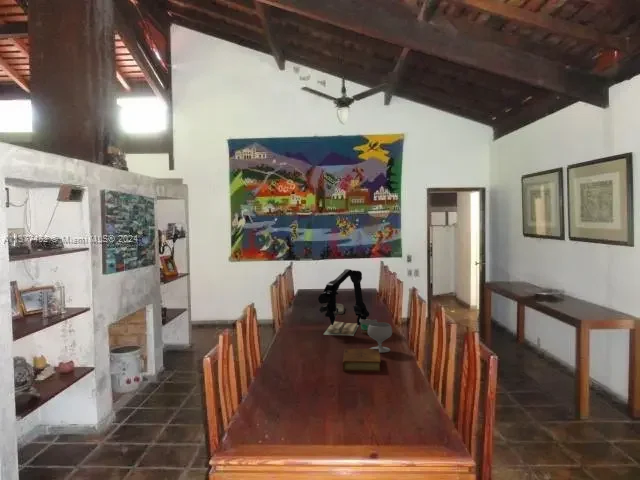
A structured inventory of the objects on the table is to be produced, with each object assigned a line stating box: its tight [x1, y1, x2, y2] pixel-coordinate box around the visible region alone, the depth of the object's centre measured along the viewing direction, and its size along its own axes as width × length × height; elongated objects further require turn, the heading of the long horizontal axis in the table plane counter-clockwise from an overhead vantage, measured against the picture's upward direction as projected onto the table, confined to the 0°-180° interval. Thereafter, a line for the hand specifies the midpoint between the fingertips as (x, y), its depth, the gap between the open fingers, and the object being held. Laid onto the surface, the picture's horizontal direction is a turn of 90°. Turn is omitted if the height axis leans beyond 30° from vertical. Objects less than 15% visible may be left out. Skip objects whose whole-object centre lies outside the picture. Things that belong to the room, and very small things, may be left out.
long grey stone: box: [335, 303, 345, 315], centre depth 395 cm, size 35×5×10 cm
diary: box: [342, 347, 382, 373], centre depth 247 cm, size 23×19×6 cm
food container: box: [359, 318, 378, 336], centre depth 311 cm, size 12×6×10 cm, turn 62°
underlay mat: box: [323, 324, 360, 337], centre depth 323 cm, size 20×30×1 cm, turn 169°
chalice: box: [368, 321, 393, 354], centre depth 272 cm, size 14×14×15 cm
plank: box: [326, 320, 346, 333], centre depth 324 cm, size 8×24×2 cm, turn 169°
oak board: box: [341, 322, 358, 334], centre depth 322 cm, size 7×24×2 cm, turn 169°
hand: (332, 324), depth 318 cm, fingers closed
